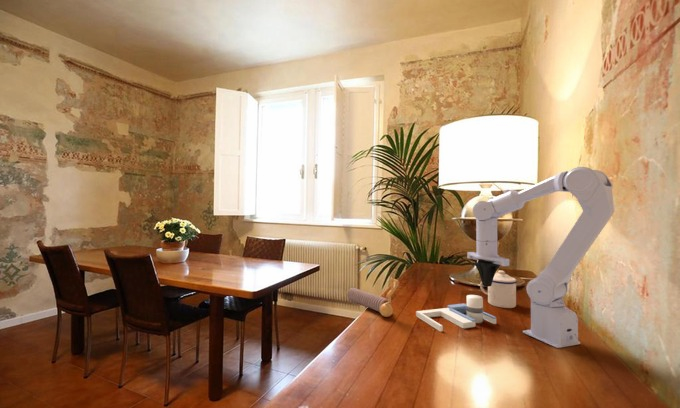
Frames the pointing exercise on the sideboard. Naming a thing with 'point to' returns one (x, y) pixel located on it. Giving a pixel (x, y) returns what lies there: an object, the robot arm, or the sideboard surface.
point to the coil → (366, 299)
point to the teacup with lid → (501, 291)
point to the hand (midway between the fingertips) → (486, 285)
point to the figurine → (386, 307)
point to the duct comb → (452, 316)
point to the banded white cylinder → (475, 308)
